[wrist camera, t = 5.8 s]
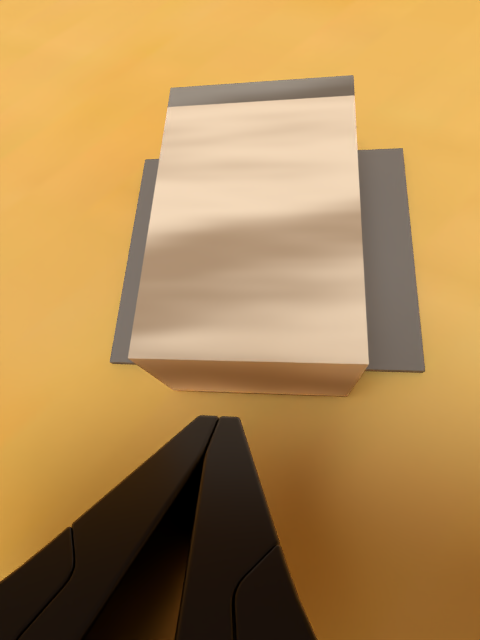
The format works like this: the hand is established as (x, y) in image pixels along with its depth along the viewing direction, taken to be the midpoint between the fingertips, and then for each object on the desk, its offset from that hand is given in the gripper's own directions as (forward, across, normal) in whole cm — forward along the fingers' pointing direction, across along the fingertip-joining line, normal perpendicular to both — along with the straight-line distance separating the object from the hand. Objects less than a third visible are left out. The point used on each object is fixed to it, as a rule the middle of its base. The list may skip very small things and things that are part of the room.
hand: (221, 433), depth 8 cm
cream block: (+5, 0, +2) cm, 6 cm away
